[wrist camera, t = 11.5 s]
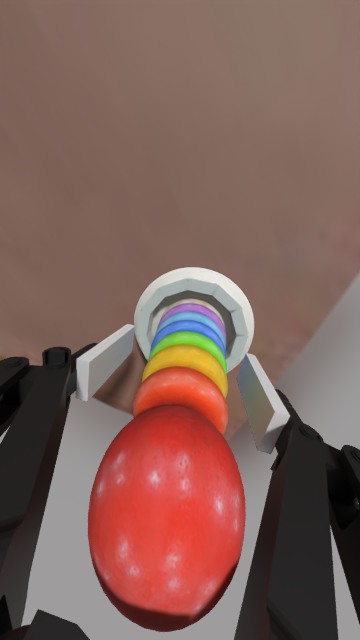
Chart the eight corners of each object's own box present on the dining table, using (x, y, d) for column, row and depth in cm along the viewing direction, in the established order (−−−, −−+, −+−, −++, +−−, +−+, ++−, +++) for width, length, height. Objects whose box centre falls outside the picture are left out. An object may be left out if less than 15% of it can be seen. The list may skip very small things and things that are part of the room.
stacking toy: (158, 352, 23) (0, 631, 5) (163, 293, 21) (-86, 428, 3) (217, 362, 22) (269, 730, 4) (230, 302, 20) (441, 564, 2)
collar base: (129, 363, 25) (121, 373, 22) (143, 255, 20) (135, 253, 18) (232, 390, 24) (235, 404, 21) (271, 282, 19) (280, 284, 17)
